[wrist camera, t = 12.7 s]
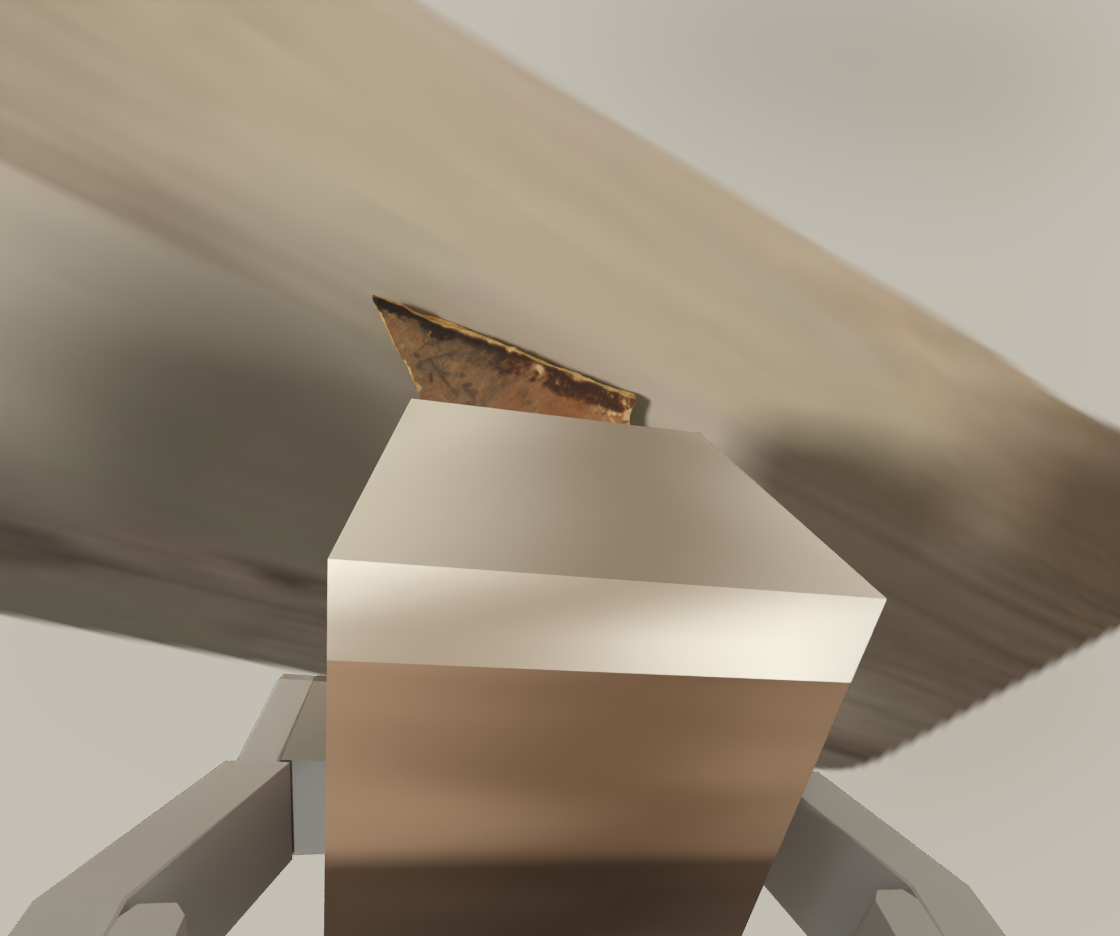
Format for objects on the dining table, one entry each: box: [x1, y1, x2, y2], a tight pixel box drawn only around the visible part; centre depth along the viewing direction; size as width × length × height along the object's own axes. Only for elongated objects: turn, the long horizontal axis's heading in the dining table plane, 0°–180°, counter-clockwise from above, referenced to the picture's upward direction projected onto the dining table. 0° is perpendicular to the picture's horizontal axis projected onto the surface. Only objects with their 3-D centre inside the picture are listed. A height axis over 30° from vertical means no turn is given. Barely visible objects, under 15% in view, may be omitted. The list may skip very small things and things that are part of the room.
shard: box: [372, 295, 636, 425], centre depth 21 cm, size 11×8×2 cm
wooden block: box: [324, 398, 887, 936], centre depth 9 cm, size 5×5×10 cm
